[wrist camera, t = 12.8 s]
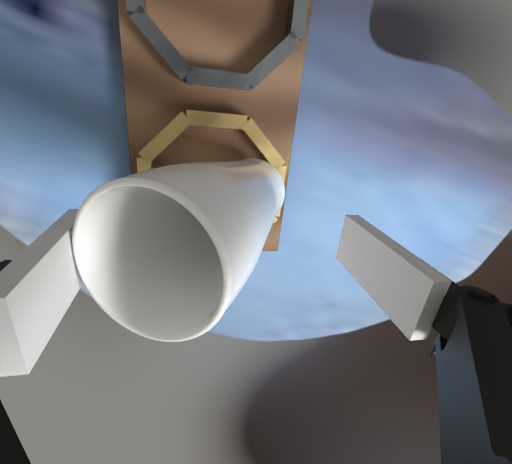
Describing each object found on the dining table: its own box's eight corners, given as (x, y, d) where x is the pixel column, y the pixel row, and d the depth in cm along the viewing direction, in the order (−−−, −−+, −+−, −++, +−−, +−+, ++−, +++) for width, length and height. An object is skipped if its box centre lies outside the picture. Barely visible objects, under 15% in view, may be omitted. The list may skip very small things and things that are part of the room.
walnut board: (109, -163, 16) (103, -182, 15) (320, -104, 19) (328, -116, 18) (139, 246, 27) (137, 252, 26) (274, 245, 30) (277, 250, 28)
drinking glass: (270, 242, 25) (189, 374, 12) (205, 203, 26) (55, 286, 12) (311, 174, 23) (267, 245, 9) (237, 132, 23) (88, 136, 9)
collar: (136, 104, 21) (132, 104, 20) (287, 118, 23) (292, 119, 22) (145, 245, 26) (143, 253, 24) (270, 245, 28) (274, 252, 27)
